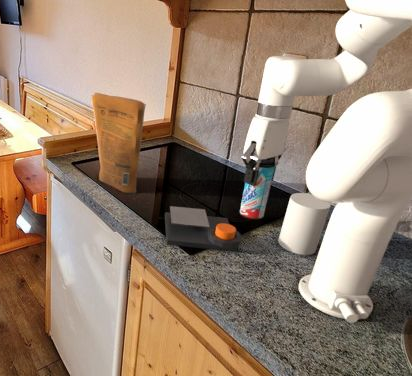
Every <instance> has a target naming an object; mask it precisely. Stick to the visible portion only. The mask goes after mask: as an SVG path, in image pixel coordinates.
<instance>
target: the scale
mask: <svg viewBox="0 0 412 376" xmlns="http://www.w3.org/2000/svg"><path fill="white" fill-rule="evenodd" d="M207 219H208V223H209V226H210V227H209V228H204V227H194V226H184V225H174V224H171V214H170V212H168V211H166V212H164V225H165V240H166V241H165V242H166V246H175V247H186V248H195V249H202V250H203V249H206V250H216V251H222V252H223V251H224V252H233V253H237V252H238V247H240V245H241V243H242V238H243V237H242V235H241V233H240V232H239V231H237V230H236V233H235V237H234V239H232V240H225V239H221V238H219V237H217V236H216V235H215V231H216V226H217V225H218V224H221V223H225V224H230V222H229V219H228V218H227V217H219V216H211V215H210V216H209V215H207Z"/></svg>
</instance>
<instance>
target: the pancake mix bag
mask: <svg viewBox="0 0 412 376" xmlns="http://www.w3.org/2000/svg"><path fill="white" fill-rule="evenodd" d="M90 99H91V106H92V110H93V111H92V112H93V118H94V126H95V132H96V140H97V141H96V142H97V150H98V159H99V164H100V168H99V173H98V180H99V182H102V183H104V184H105V185H107V186H109V187H112V188H114V189H116V190H118V191H120V192H122V193H126V194H137V172H138V167H139V159H140V153H141V147H142V137H143V129H144V128H143V127H144V119H145V110H146V106H147V104H146V103H145V102H143V101H141V100H137V99H133V98H129V97H123V96H118V95H109V94H106V93H100V92H94V94H91V98H90Z"/></svg>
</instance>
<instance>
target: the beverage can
mask: <svg viewBox="0 0 412 376" xmlns="http://www.w3.org/2000/svg"><path fill="white" fill-rule="evenodd" d="M255 162H256V160H254V159H253V163H254V164H255ZM274 168H275V163H274V162H272V161H270V160H266V159H263V160H262V161H261V163H260V165H259V167H258V169H257V170H258V171H259V173H258V178H257V182H256V185H255V186H252V185H250V184H247V183H245V182H244V188H243V191H242V198H241V203H240V209H239V214H240V216H241V217H242V218H244V219H246V220H250V221H259V220H262V219H263V218H264V216H265V212H266V207H267V203H268V198H269V195H270V190H271V185H272V177H273V173H274Z"/></svg>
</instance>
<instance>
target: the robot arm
mask: <svg viewBox="0 0 412 376" xmlns="http://www.w3.org/2000/svg"><path fill="white" fill-rule="evenodd" d="M344 1H345V4H346V7H347V8H348V9H349V10H348V11H347V12H346V13H344V14H343V15H342V16H341V17H340V18H339V20H338V21H337V23H336V25H335V30H334V32H335V37H336V40H337V42H338V44H339V46H340V47H341V48H342V49H343V50H344V51H341V53H340V54H338V55H337V56H335V57H333V58H307V59H306V58H299V57H297V56H287V55H272V56H270V57H268V59H266V62H265V64H264V69H263V73H262V74H263V75H262V80H261V85H260V90H259V94H258V99H257V105H256V109H255V115H254V116H253V118H252V120H251V122H250V125H249V128H248V131H247V134H246V138H245V142H244V146H243V154H242V156H241V160H242V161H243V164H244V168H245V173H244V178H243V182H244V184H245V183H247V184H250V185H252V186H255V185H256V182H257V178H258V173H259V171H258V170H257V169H258V167H259V165H260V163H261V161H262V160H263V159H266V160H270V161H272V162H274V163H275V168H274V173H273V177H272V181H274V178H275V173H276V169H277V166H278V165H279V161H280V160H281V158H282V155H283V154H284V153H285V152H286V150H287V147H286V144H287V140H288V139H287V138H288V133H289V126H290V125H289V124H290V119H291V115H292V112H293V111H292V110H293V107H294V106H293V105H294V101H295V98H296V97H324V96H325V97H328V96H333V95H336V94H339V93H341V92H343V91H345V90H346V89H348V88H350V87H351V86H353V85H354V84H356V83H358V82H359V81H360V80H362V79H363V78H364V77H366V75H368V73H369V72H370V70H371V69H372V67H373V66H374V63H375V61H376V59H377V56H378V51H379V50H381V49H382V48H383V47H384V46H386V45H387V44H389V43H390V42H391V41H393V40H394V39H396V38H397V37H399V36H400V35H401V34H403V33H404V32H406V31H407V30H408V29H410V28H411V27H412V0H344ZM253 159H254V160H256V162H255V164H254V163H253ZM305 184H306V187H307V189H308V191H309V194H312V195H313V196H315V197H316V198H317V199H319V200H321V201H324V202H329V203H330V204H336V205H335V207H334V208H333V211H332V212H331V215H330V217H329V221H328V223H327V227H326V229H325V233H324V235H323V238H322V240H321V245H320V248H319V250H318V253H317V257H316V260H315V263H314V265H313V269H312V271H311V274H305V275H304V276H302V278H301V279H299V283H298V291H299V293H300V295H301V296H302V298H303V299H304V300H305V301H306V302H307V303H308V304H309V305H311V306H312V307H314V308H315V309H317V310H318V311H321V312H322V313H324V314H327V315H329V316H332V317H335V318H338V319H344V320H345V321H346V322H347V323H350V324H355V323H356V322H357V321H358V320H365V319H366V320H367V319H368V318H369V316H370V315H371V314H372V311H373V309H374V303H373V301H372V299H371V297H370V296H369V295H368V294H369V291H370V289H371V287H372V284H373V282H374V280H375V277H376V275H377V272H378V270H379V267H380V266H381V262H382V260H383V258H384V255H385V253H386V250H387V248H388V245H389V243H390V241H391V240H392V237H393V234H394V232H395V230H396V228H397V225H398V223H399V221H400V219H401V217H402V216H403V214H404V212H405V210H406V209H407V208H408V206H409V205H410V203H411V202H412V88H409V89H407V90H387V91H384V90H383V91H378V92H376V91H375V92H373V93H372V92H371V93H369V94H367V95H364V96H362V97H360V98H359V99H357V100H356V101H354V102H353V103H352V104H351V105H350V106H348V107H347V108H346V110H345V111H344V112H343V113H342V114H341V116H340V117H339V118H338V120H337V121H336V122H335V124H334V125H333V126H332V128H331V129H330V131H329V132H328V133H327V135H326V136H325V137H324V139H323V140H322V142H321V143H320V144H319V146H318V147H317V148H316V150H315V151H314V152H313V154H312V155H311V158H310V159H309V162H308V164H307V166H306V171H305Z"/></svg>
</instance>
